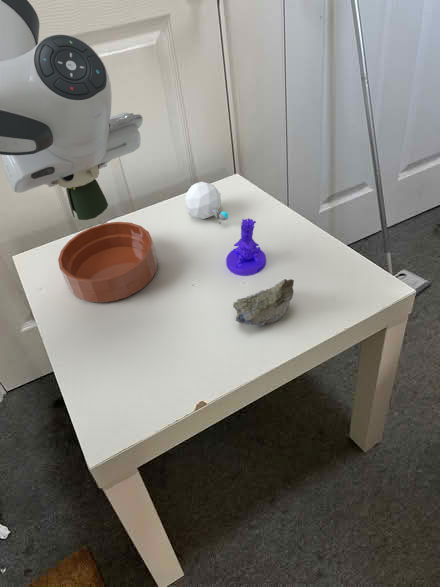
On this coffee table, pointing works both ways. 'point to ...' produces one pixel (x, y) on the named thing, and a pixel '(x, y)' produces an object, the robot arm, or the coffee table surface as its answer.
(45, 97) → the robot arm
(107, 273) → the bowl
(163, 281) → the coffee table surface
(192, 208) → the faceted white ball
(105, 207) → the character mug
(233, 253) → the figurine
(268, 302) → the rock
